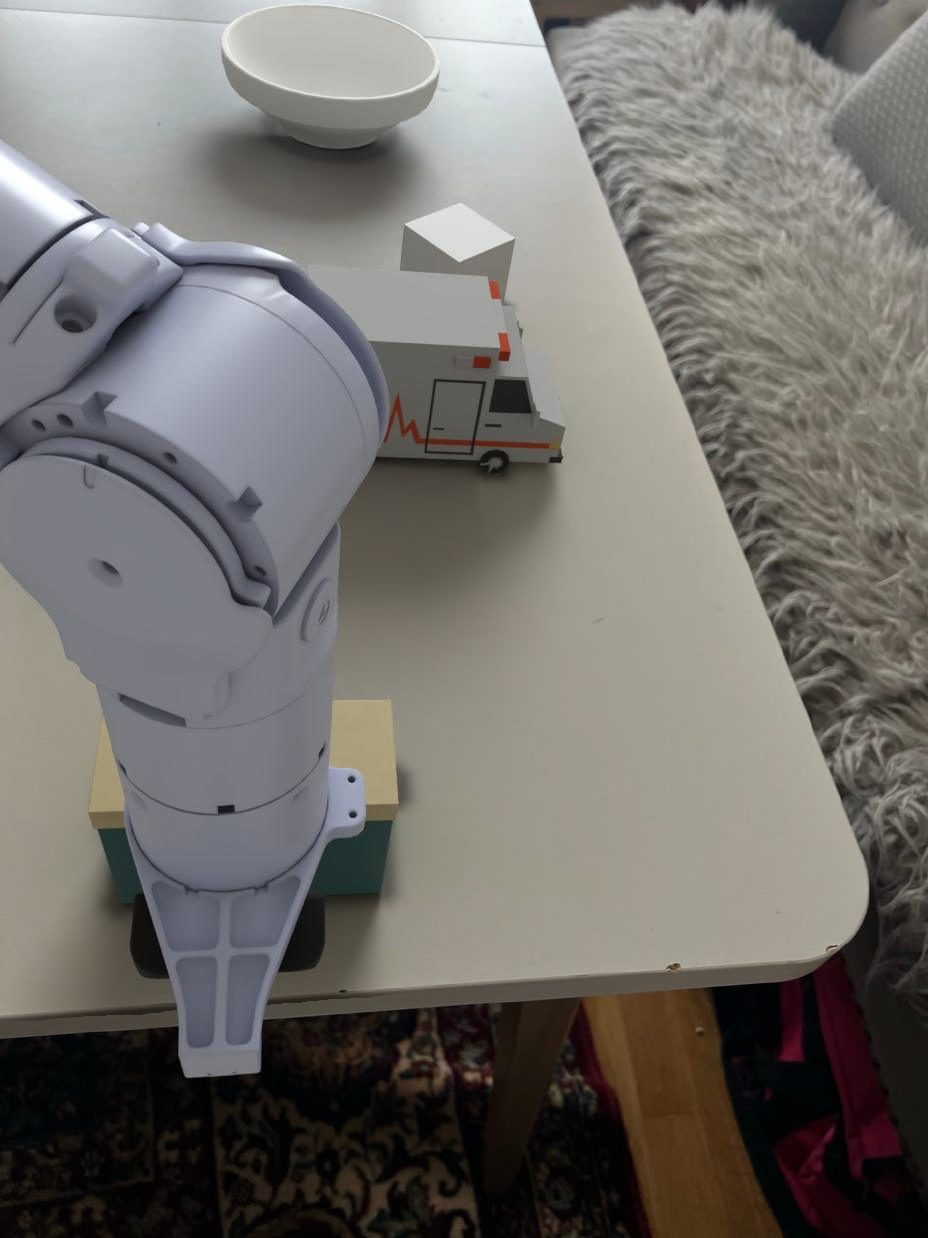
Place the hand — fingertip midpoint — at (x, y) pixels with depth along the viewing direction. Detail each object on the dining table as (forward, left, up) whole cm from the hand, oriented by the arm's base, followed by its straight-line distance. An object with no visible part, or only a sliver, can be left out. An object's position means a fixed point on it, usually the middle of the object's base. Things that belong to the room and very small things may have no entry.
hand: (242, 922), depth 37 cm
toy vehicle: (+11, +39, -10) cm, 41 cm away
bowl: (+5, +82, -10) cm, 82 cm away
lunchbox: (0, +8, -9) cm, 12 cm away
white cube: (+14, +55, -10) cm, 57 cm away
